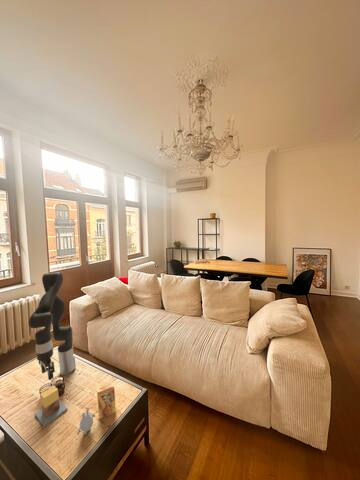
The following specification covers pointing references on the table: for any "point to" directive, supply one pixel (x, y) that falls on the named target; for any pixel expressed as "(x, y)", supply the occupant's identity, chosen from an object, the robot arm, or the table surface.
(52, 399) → the mustard brick
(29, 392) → the table surface
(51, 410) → the walnut brick
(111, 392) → the candy box
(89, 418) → the toy figure
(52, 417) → the slate baseplate
